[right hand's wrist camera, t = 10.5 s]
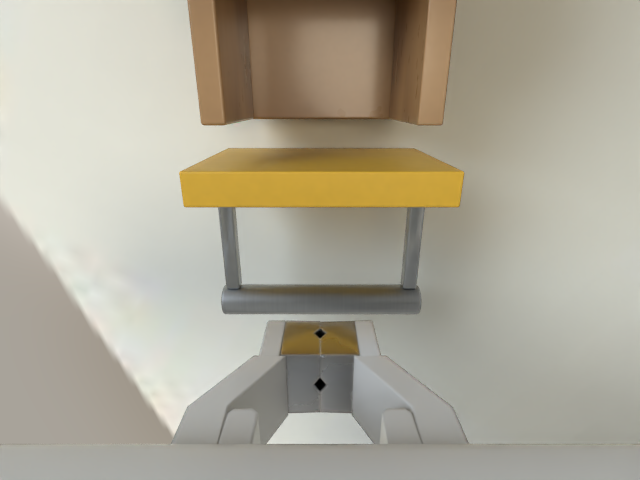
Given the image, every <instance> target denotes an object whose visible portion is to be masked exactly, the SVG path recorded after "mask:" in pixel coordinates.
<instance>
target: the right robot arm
mask: <svg viewBox="0 0 640 480" xmlns="http://www.w3.org/2000/svg"><path fill="white" fill-rule="evenodd" d="M308 412H331V413H352V415H353V417H354V418H355V419H356V421H357V422H358V423H359V425H360V426H361V427H362V429H363V430H364V431H365V433H366V434H367V435H368V437H369V438H370V439H371V441H372V442H373V443H374V444H267V442H268V441H269V440H270V438H271V437H272V436H273V434H274V433H275V432H276V430H277V429H278V428H279V426H280V425H281V424H282V422H283V421H284V420H285V418H286V417H287V416H288V413H308ZM0 480H640V444H469V443H468V440H467V438H466V436H465V434H464V431H463V429H462V427H461V424H460V422H459V420H458V418H457V415H456V413H455V411H454V409H453V407H452V406H451V405H449V404H448V403H447V402H445V401H444V400H443V399H442V398H440V397H439V396H438V395H436V394H435V393H434V392H432V391H431V390H430V389H429V388H427V387H426V386H425V385H423V384H422V383H421V382H419V381H418V380H417V379H416V378H414V377H413V376H412V375H410V374H409V373H408V372H407V371H405V370H404V369H403V368H401V367H400V366H399V365H397V364H396V363H395V362H394V361H392V360H391V359H390V358H388V357H387V356H381V353H380V349H379V345H378V341H377V337H376V333H375V329H374V325H373V322H372V321H371V320H366V321H337V322H320V321H285V320H284V321H268V322H267V325H266V329H265V333H264V337H263V341H262V345H261V349H260V353H259V356H253V357H252V358H250V359H249V360H248V361H246V362H245V363H244V364H243V365H241V366H240V367H239V368H237V369H236V370H235V371H233V372H232V373H231V374H230V375H228V376H227V377H226V378H224V379H223V380H222V381H220V382H219V383H218V384H216V385H215V386H214V387H213V388H211V389H210V390H209V391H207V392H206V393H205V394H203V395H202V396H201V397H200V398H198V399H197V400H196V401H194V402H193V403H192V404H190V405H189V406H188V407H187V409H186V411H185V413H184V416H183V418H182V420H181V422H180V425H179V427H178V429H177V431H176V434H175V436H174V438H173V440H172V443H171V444H0Z"/></svg>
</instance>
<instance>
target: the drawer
mask: <svg viewBox="0 0 640 480" xmlns="http://www.w3.org/2000/svg"><path fill="white" fill-rule="evenodd" d="M187 1H188V10H189V19H190V28H191V37H192V46H193V55H194V64H195V72H196V81H197V90H198V99H199V108H200V117H201V123H202V125H227V124H232V123H236V122H241V121H245V120H250V119H392V120H397V121H401V122H406V123H411V124H415V125H442V124H443V117H444V108H445V99H446V91H447V82H448V73H449V65H450V56H451V47H452V38H453V30H454V21H455V12H456V4H457V0H187ZM179 175H180V182H181V189H182V196H183V203H184V207H218V210H219V219H220V229H221V239H222V248H223V258H224V268H225V277H226V285H225V286H224V288H223V292H222V300H221V303H222V310H223V313H225V314H418V313H419V312H420V309H421V293H420V289H419V287H418V286H417V285H416V284H417V275H418V265H419V256H420V246H421V237H422V227H423V218H424V209H425V207H459V206H460V199H461V192H462V185H463V178H464V172H463V171H461V170H459V169H457V168H455V167H453V166H450V165H448V164H446V163H444V162H442V161H440V160H438V159H436V158H434V157H431V156H429V155H427V154H425V153H423V152H421V151H419V150H417V149H414V148H228V149H226V150H224V151H222V152H220V153H218V154H216V155H214V156H212V157H209V158H207V159H205V160H203V161H201V162H199V163H197V164H195V165H193V166H191V167H189V168H187V169H185V170H183V171H180V173H179ZM235 207H408V208H407V219H406V230H405V241H404V253H403V264H402V275H401V284H402V285H241V283H242V279H241V268H240V256H239V245H238V233H237V221H236V210H235Z"/></svg>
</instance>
